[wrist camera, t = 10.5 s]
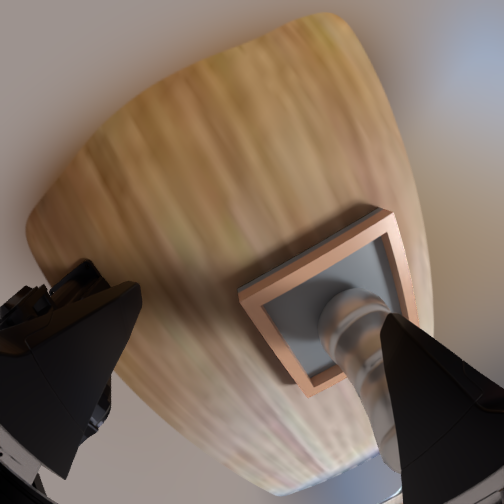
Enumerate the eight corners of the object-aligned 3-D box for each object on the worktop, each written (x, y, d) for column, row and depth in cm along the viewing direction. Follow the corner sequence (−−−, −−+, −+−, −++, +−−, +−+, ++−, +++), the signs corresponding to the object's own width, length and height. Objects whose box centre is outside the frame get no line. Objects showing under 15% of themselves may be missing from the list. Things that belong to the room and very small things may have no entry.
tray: (302, 384, 28) (307, 398, 25) (237, 288, 23) (239, 301, 21) (409, 319, 27) (420, 329, 25) (379, 207, 22) (393, 212, 20)
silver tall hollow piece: (384, 290, 24) (528, 433, 5) (349, 346, 26) (449, 504, 7) (333, 270, 22) (503, 461, 4) (298, 333, 24) (391, 538, 5)
